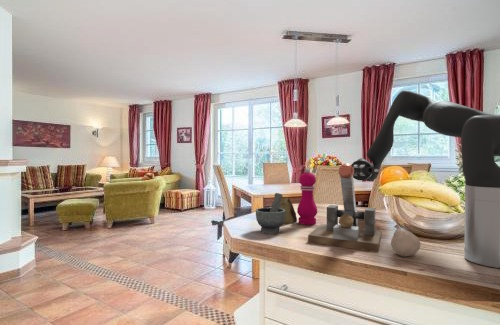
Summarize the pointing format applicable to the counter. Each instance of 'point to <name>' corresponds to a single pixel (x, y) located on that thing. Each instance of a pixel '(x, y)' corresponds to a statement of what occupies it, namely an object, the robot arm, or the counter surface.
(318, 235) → the cracker base
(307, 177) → the pepper mill
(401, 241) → the garlic bulb
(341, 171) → the lever
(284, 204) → the rock
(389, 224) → the counter surface
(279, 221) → the mortar and pestle
